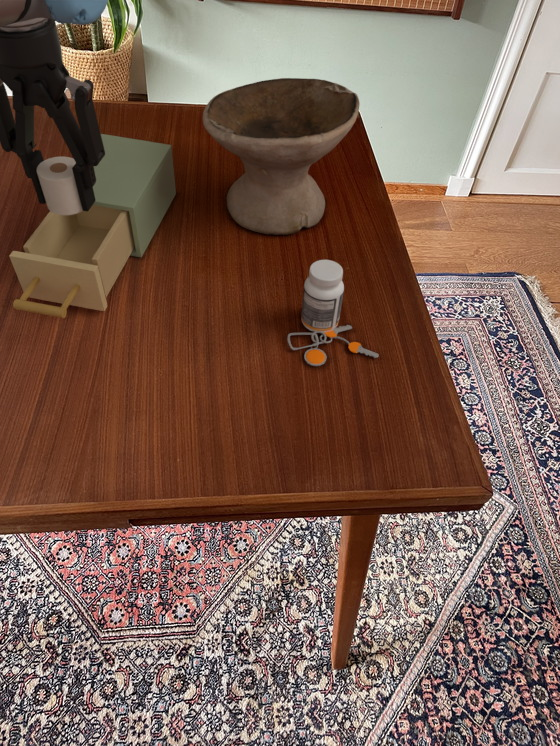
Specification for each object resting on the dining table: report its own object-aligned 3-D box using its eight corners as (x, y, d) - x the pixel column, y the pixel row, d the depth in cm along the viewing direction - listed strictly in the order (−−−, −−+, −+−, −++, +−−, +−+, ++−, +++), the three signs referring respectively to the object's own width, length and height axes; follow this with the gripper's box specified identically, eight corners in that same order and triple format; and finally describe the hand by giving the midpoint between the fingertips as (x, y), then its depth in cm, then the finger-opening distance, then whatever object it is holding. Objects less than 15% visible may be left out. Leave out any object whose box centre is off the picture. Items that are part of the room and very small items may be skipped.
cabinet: (141, 257, 94) (133, 207, 86) (62, 243, 95) (47, 193, 88) (176, 193, 106) (171, 144, 98) (105, 181, 107) (95, 132, 99)
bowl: (295, 154, 116) (304, 49, 101) (373, 221, 104) (397, 113, 88) (181, 188, 107) (171, 78, 91) (251, 267, 94) (254, 155, 78)
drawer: (87, 341, 81) (75, 302, 75) (4, 326, 82) (-14, 285, 76) (144, 238, 96) (138, 198, 90) (74, 226, 97) (63, 185, 90)
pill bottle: (315, 304, 90) (321, 251, 82) (345, 320, 87) (355, 268, 80) (293, 322, 87) (297, 270, 79) (324, 340, 84) (331, 288, 77)
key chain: (293, 368, 81) (293, 364, 80) (284, 330, 85) (285, 326, 85) (380, 361, 83) (381, 357, 82) (367, 324, 87) (368, 320, 87)
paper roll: (39, 210, 79) (27, 174, 75) (60, 188, 82) (50, 152, 78) (76, 219, 78) (66, 183, 74) (96, 196, 82) (88, 161, 77)
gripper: (113, 16, 64) (141, 197, 82) (-44, -6, 65) (17, 176, 83) (85, 44, 59) (121, 229, 77) (-83, 19, 60) (-9, 206, 78)
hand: (67, 201), depth 80 cm, fingers closed on paper roll, 6 cm apart
